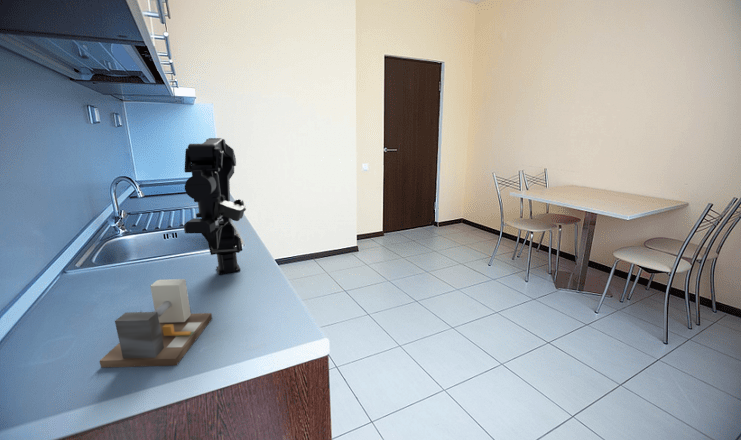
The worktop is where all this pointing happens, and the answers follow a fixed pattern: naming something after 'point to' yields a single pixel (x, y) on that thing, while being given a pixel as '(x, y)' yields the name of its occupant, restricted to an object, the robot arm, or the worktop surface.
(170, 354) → the board
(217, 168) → the robot arm
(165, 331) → the drag pointer
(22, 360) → the worktop surface
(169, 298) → the cream eraser-shaped block
